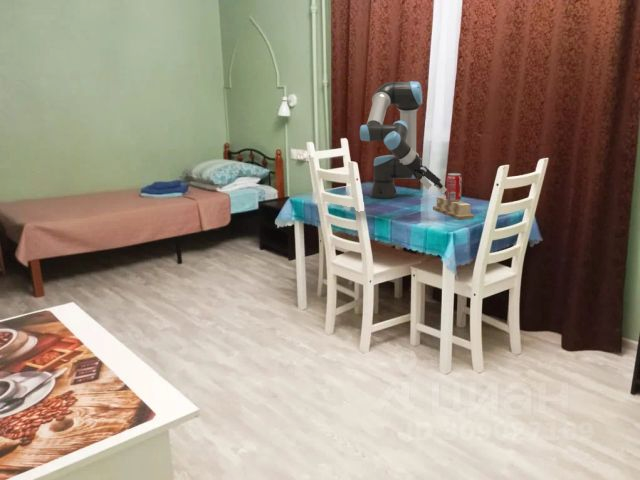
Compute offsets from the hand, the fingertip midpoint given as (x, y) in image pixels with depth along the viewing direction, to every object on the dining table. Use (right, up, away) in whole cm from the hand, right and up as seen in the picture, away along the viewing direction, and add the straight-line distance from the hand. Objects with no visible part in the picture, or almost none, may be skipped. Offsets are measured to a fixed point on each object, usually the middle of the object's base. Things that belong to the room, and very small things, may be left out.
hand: (437, 189), depth 246 cm
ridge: (+9, -11, +6) cm, 16 cm away
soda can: (+9, -5, +4) cm, 11 cm away
